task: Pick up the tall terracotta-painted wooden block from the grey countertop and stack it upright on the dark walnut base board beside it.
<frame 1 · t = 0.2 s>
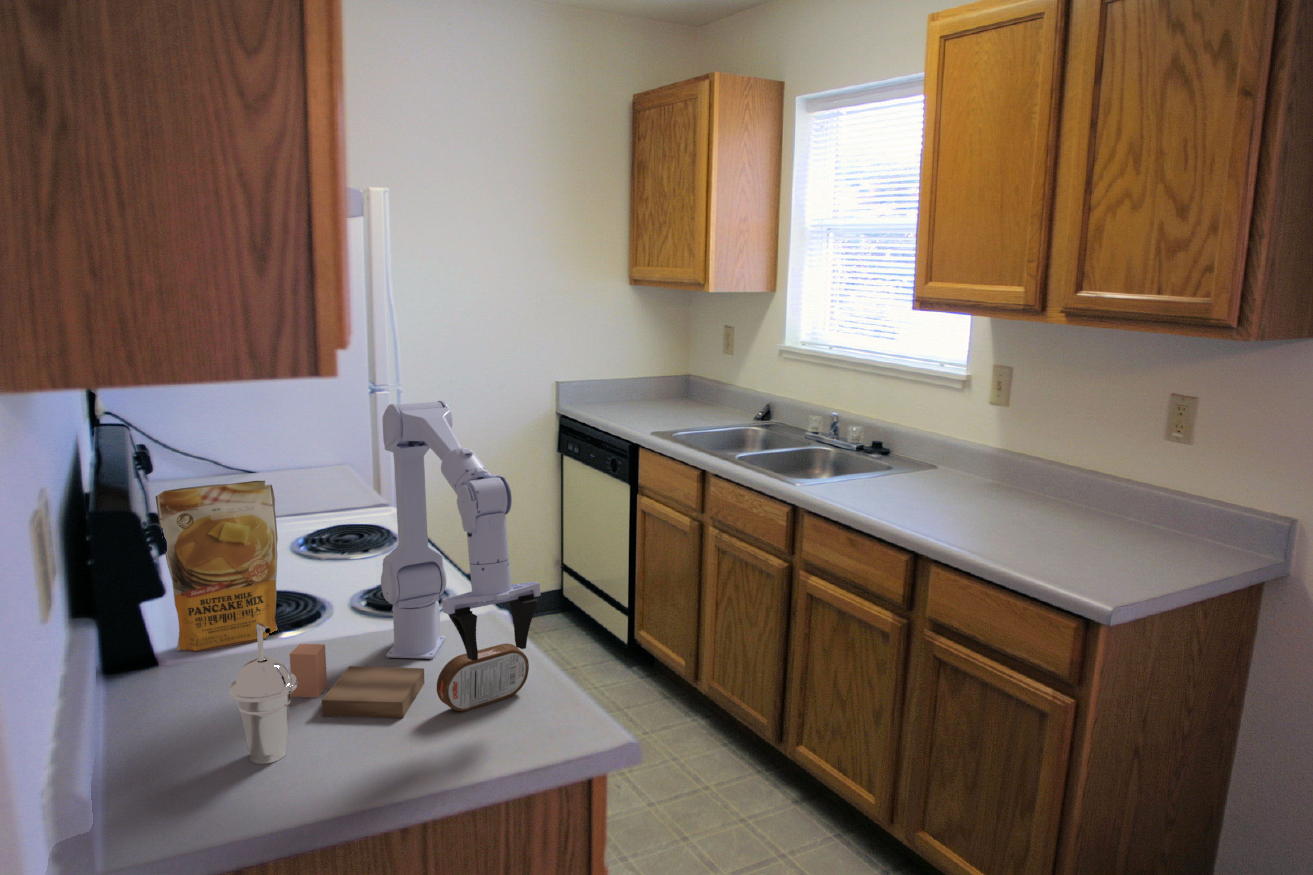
hand: (497, 653, 138), 10 cm above the counter, tool pointing down, fingers open, 7 cm apart
terracotta block: (309, 691, 149), on the counter
cup with straw: (267, 757, 129), on the counter
tin: (485, 703, 146), on the counter
pancake mix bag: (227, 641, 168), on the counter
walnut base: (375, 698, 146), on the counter
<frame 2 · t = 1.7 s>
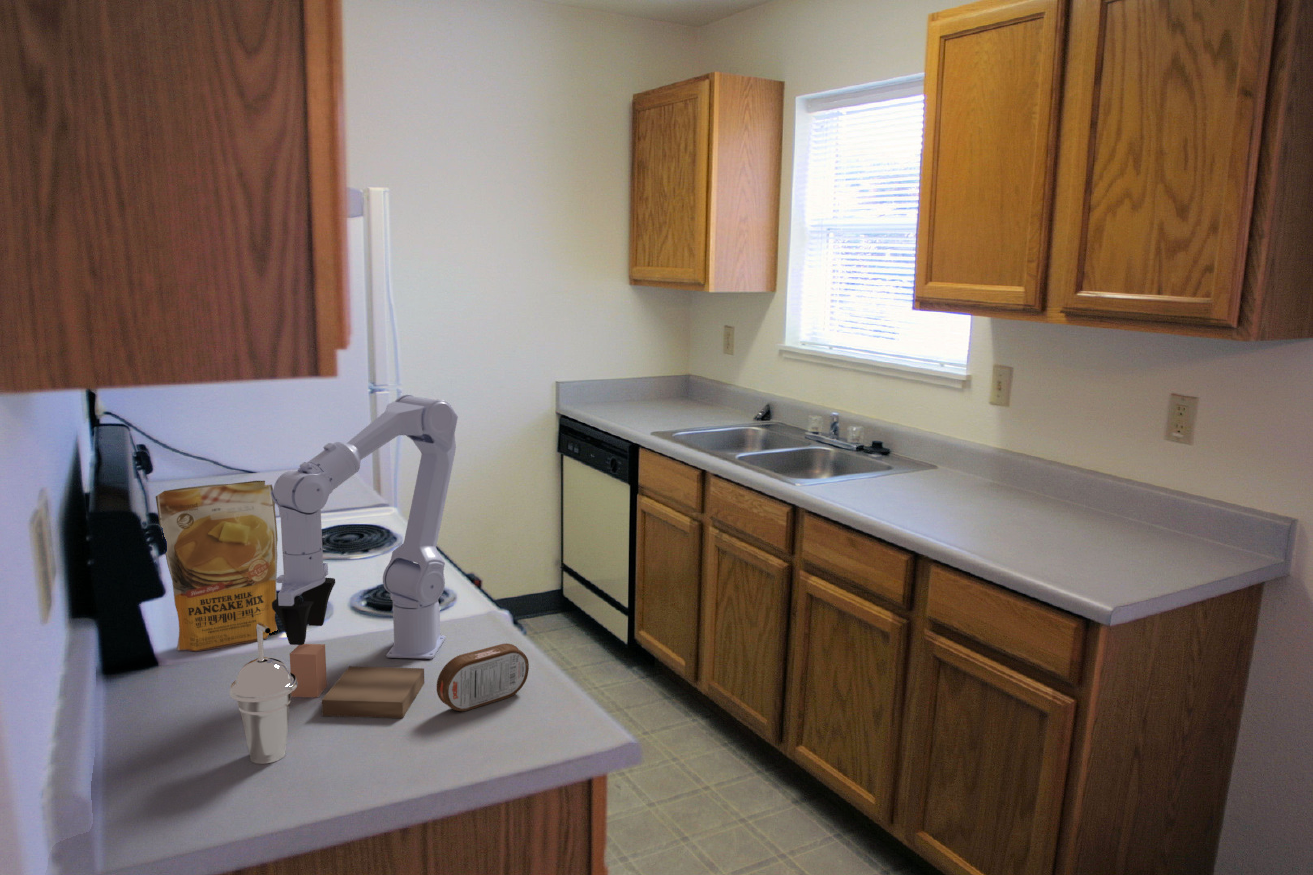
hand: (306, 634, 147), 9 cm above the counter, tool pointing down, fingers open, 7 cm apart
nothing on the counter moved.
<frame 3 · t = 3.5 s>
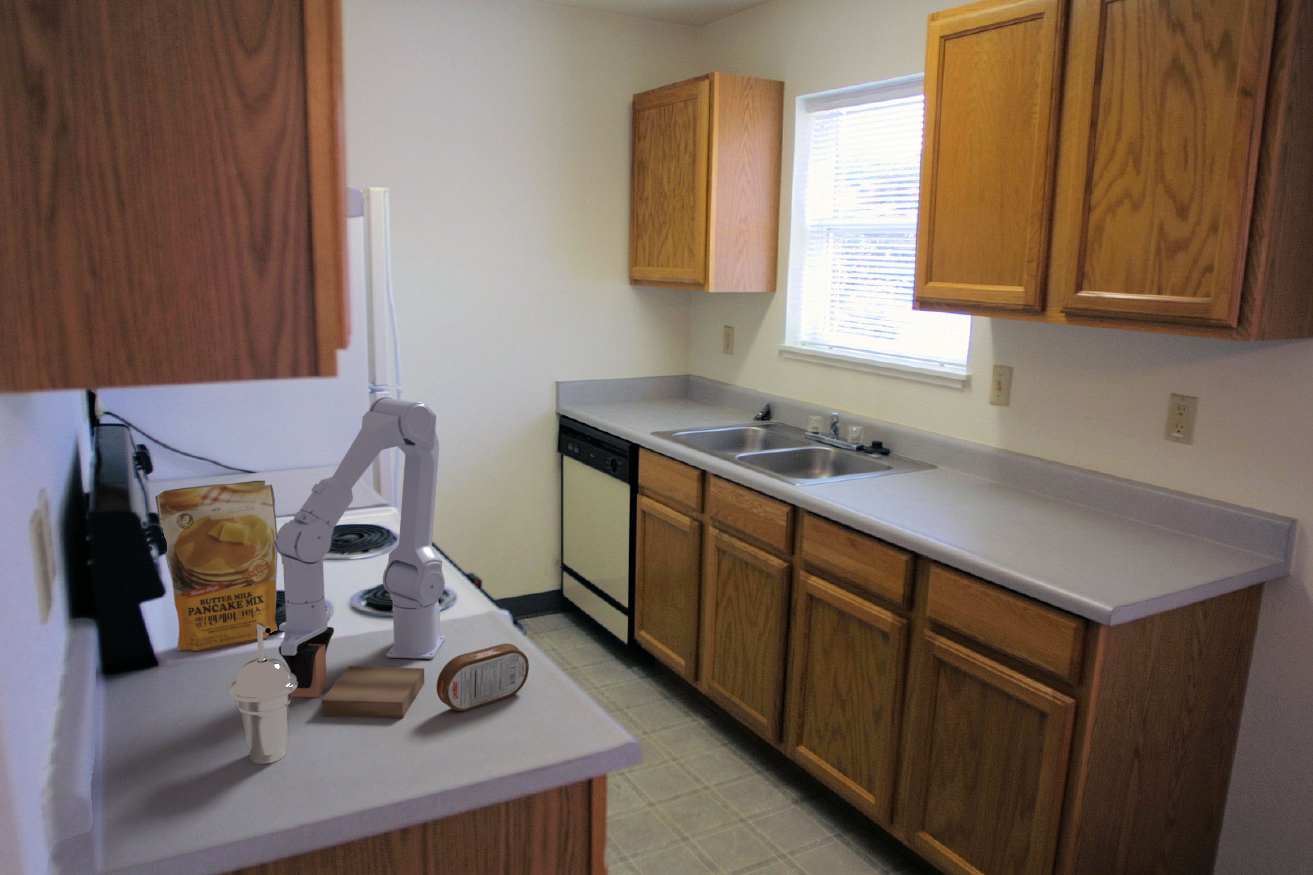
hand: (309, 680, 148), 2 cm above the counter, tool pointing down, fingers closed on terracotta block, 4 cm apart
terracotta block: (309, 691, 149), on the counter, touching gripper
everything else where it was.
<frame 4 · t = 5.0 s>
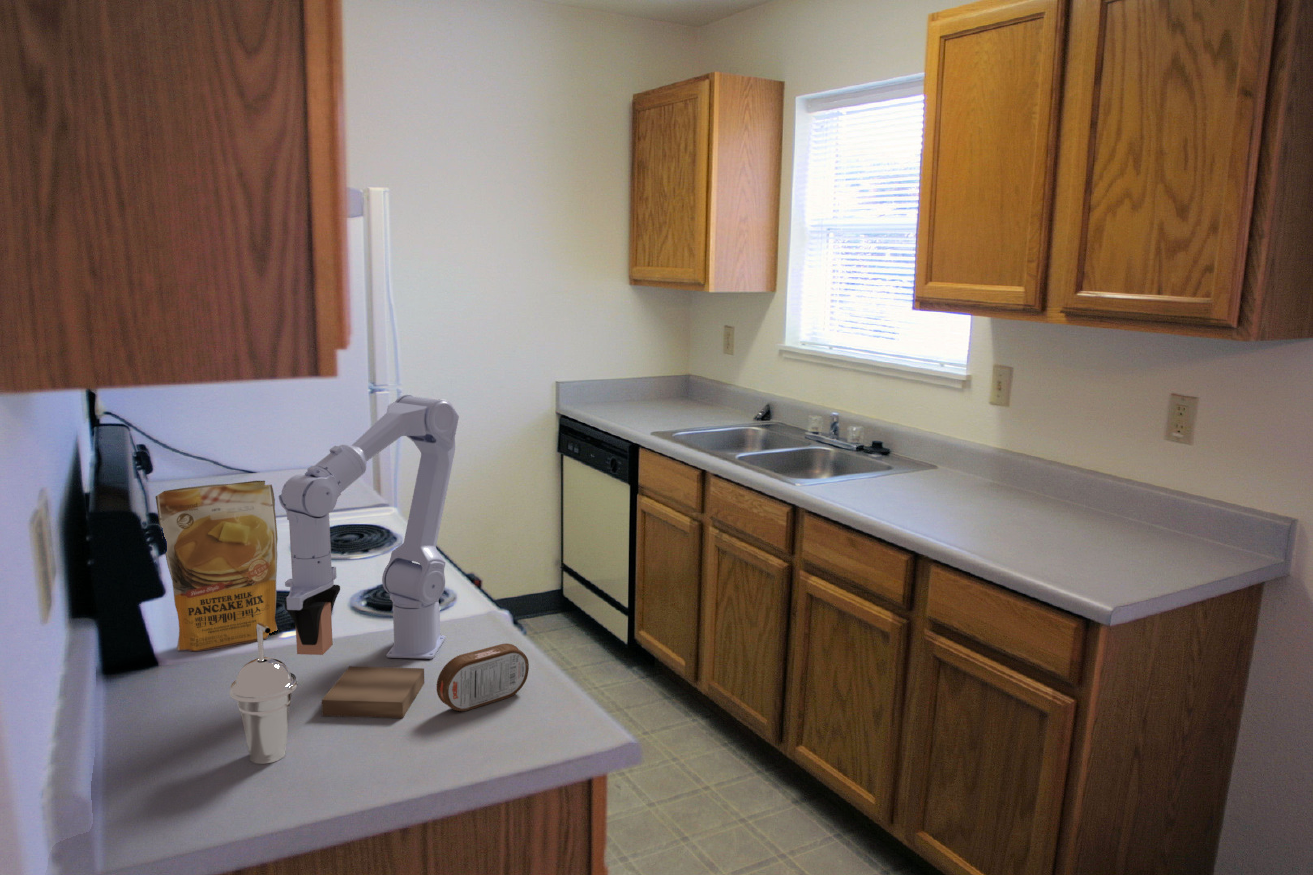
hand: (315, 638, 147), 9 cm above the counter, tool pointing down, fingers closed on terracotta block, 4 cm apart
terracotta block: (315, 649, 147), point 7 cm above the counter, touching gripper
everything else where it was.
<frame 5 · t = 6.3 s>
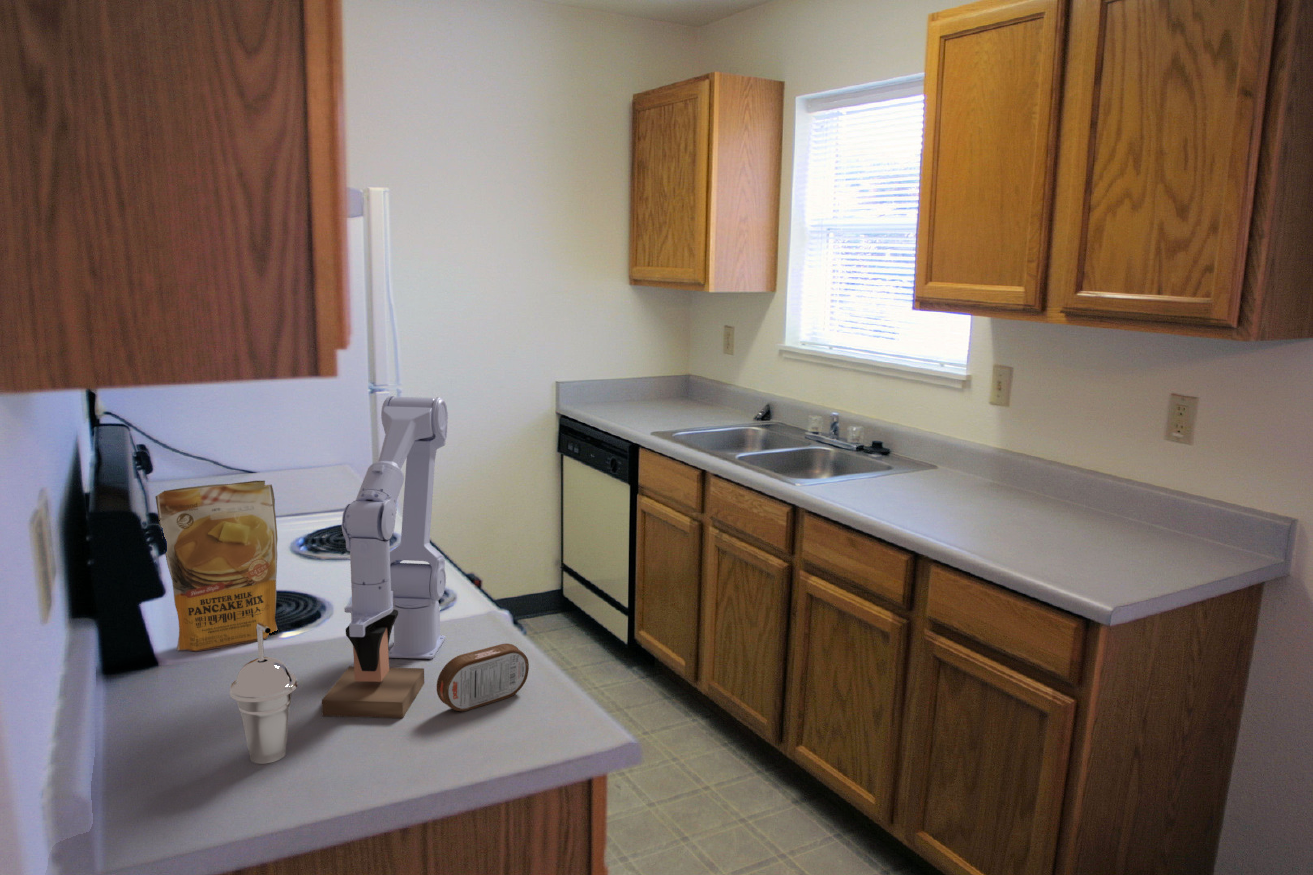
hand: (374, 663, 145), 6 cm above the counter, tool pointing down, fingers closed on terracotta block, 4 cm apart
terracotta block: (372, 675, 146), point 4 cm above the counter, touching gripper
everything else where it was.
when the fingers open (6 cm above the counter, at t = 7.0 s): terracotta block drops 1 cm, resting on walnut base.
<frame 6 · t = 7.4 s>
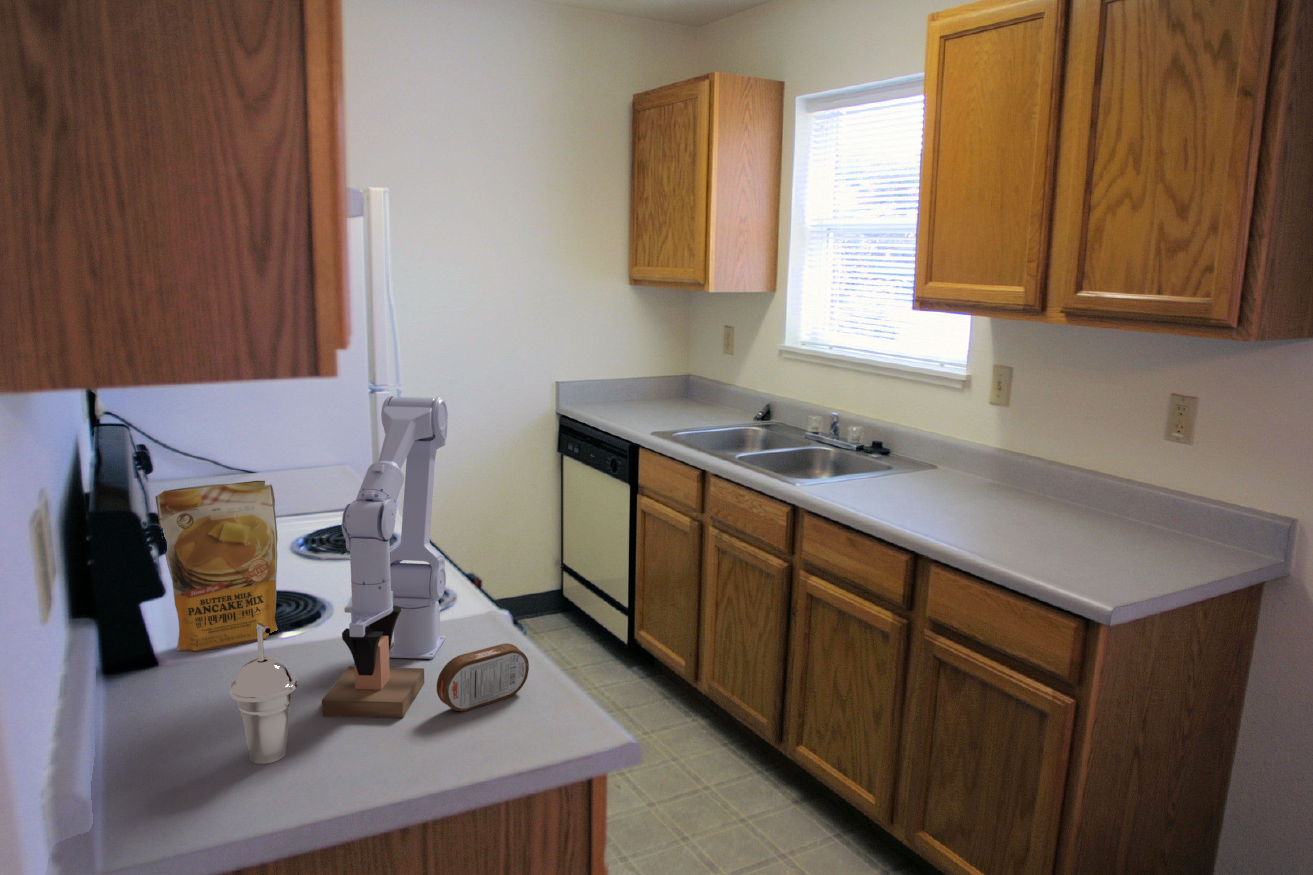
hand: (374, 663, 145), 6 cm above the counter, tool pointing down, fingers open, 7 cm apart
terracotta block: (372, 683, 146), point 2 cm above the counter, touching walnut base
everything else where it was.
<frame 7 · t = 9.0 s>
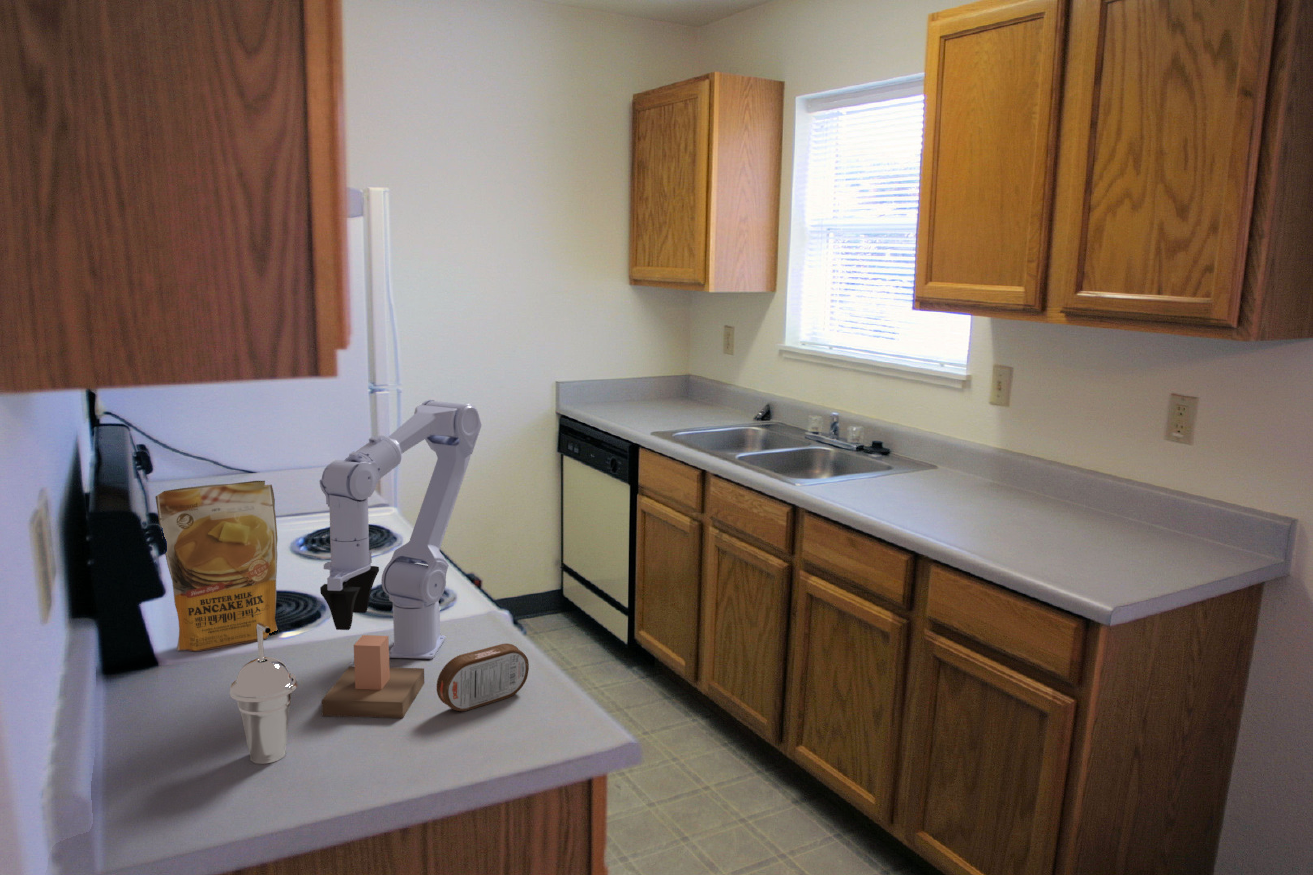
hand: (351, 620, 150), 10 cm above the counter, tool pointing down, fingers open, 7 cm apart
nothing on the counter moved.
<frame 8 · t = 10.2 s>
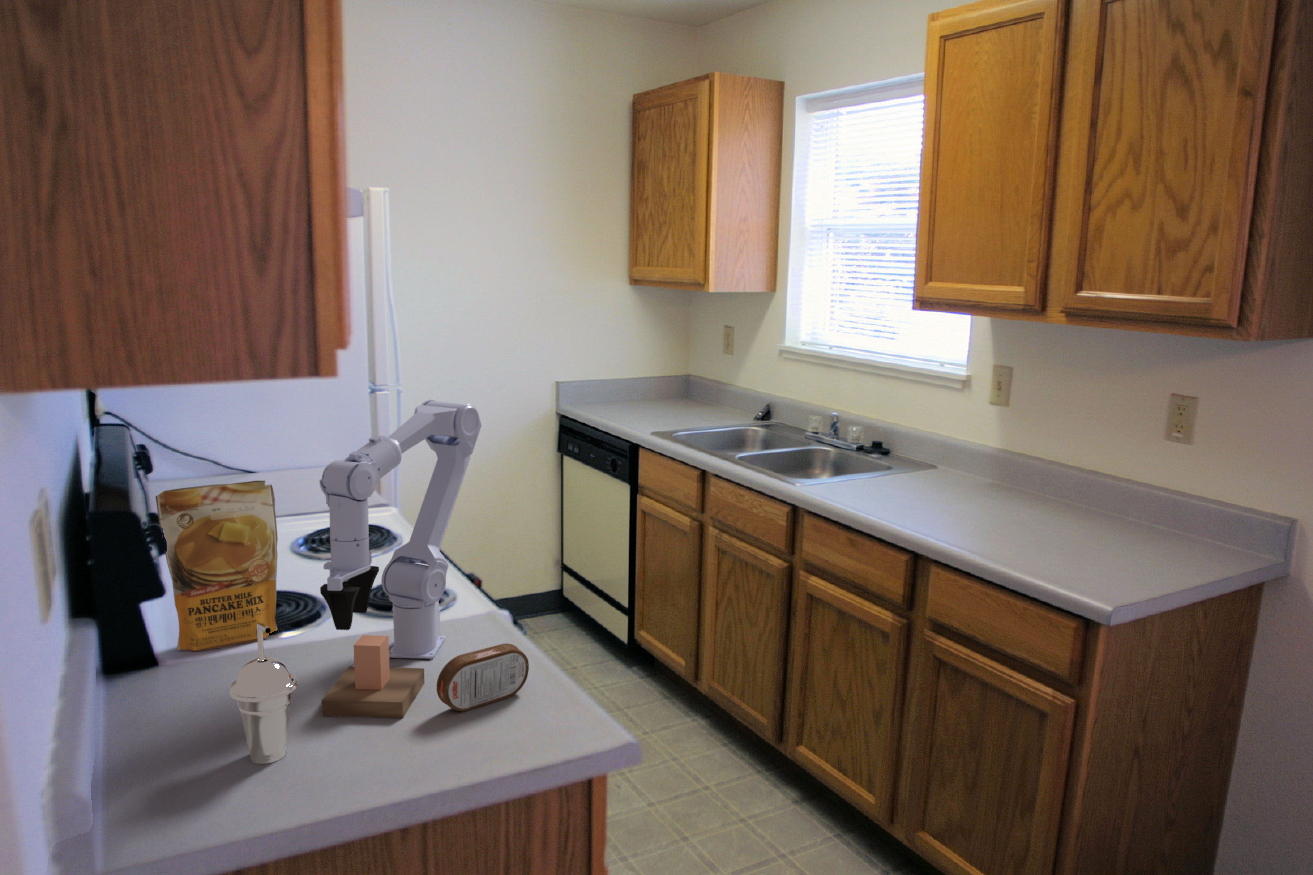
hand: (351, 620, 150), 10 cm above the counter, tool pointing down, fingers open, 7 cm apart
nothing on the counter moved.
at the end: terracotta block inside the target area on the walnut base (0.3 cm from its centre), point 2.5 cm above the walnut base's base; terracotta block tilted 0°; terracotta block touching walnut base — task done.
